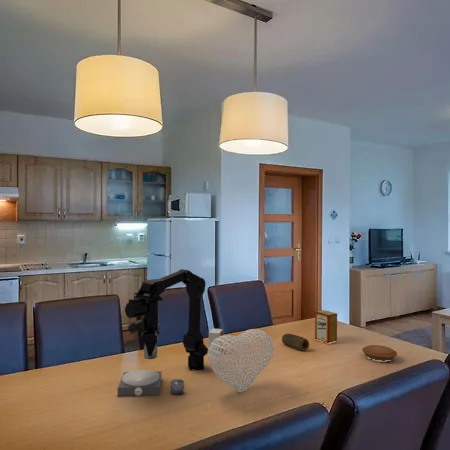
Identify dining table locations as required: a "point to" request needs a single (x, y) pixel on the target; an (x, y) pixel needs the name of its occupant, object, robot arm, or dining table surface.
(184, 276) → the robot arm
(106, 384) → the dining table surface
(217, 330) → the small box
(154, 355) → the cylinder
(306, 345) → the stone weight
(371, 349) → the pie
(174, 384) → the cylinder
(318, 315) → the baking soda box
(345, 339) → the dining table surface
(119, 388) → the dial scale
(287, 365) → the dining table surface
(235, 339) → the heart
